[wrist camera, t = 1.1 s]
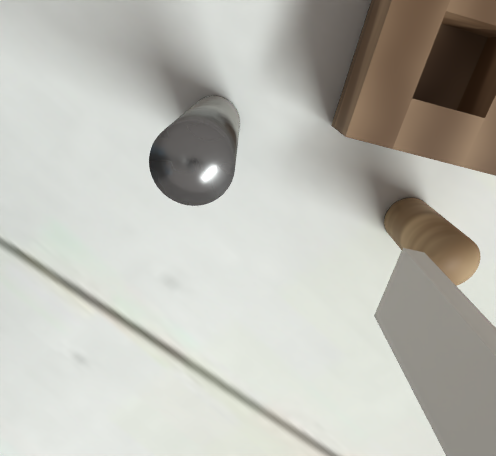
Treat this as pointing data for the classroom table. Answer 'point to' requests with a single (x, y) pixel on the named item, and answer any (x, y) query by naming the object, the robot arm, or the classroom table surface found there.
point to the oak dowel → (432, 238)
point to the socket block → (425, 81)
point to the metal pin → (197, 152)
